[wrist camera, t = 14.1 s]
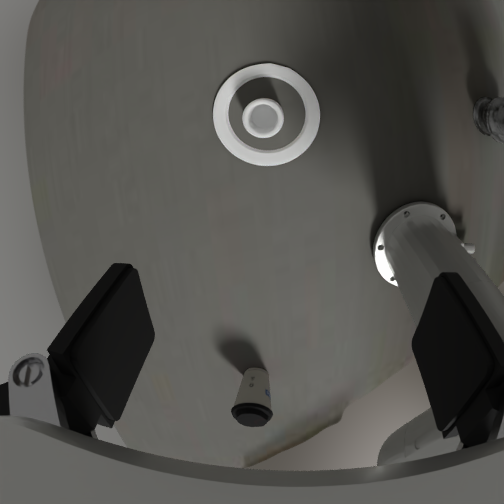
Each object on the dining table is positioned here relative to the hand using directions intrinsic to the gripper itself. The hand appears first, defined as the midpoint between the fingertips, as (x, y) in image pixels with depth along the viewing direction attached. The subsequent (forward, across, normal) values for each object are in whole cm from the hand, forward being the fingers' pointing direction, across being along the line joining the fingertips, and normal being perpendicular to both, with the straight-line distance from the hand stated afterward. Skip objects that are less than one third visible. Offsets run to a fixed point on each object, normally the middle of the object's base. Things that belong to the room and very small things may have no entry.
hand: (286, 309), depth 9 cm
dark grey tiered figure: (+28, -27, -7) cm, 40 cm away
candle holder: (+29, +2, -4) cm, 29 cm away
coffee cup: (+28, +4, +40) cm, 49 cm away
